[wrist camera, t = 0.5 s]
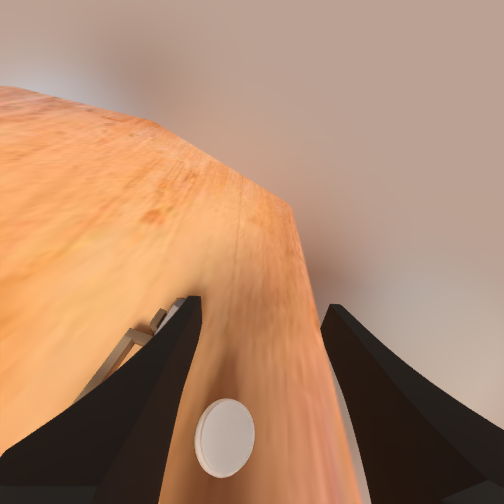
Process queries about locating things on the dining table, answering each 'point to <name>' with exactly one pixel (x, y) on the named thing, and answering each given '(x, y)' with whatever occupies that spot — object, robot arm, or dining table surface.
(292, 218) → the dining table surface
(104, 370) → the mount
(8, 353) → the dining table surface
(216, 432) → the supplement bottle
